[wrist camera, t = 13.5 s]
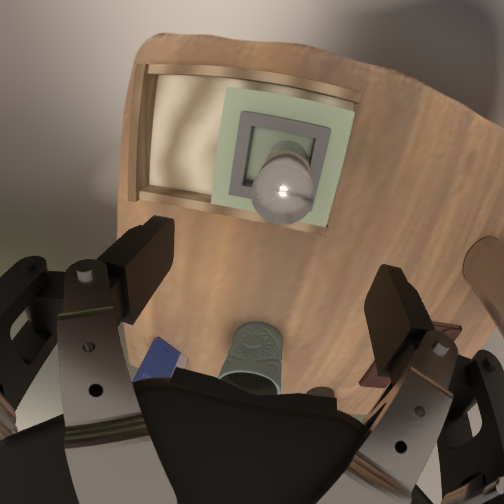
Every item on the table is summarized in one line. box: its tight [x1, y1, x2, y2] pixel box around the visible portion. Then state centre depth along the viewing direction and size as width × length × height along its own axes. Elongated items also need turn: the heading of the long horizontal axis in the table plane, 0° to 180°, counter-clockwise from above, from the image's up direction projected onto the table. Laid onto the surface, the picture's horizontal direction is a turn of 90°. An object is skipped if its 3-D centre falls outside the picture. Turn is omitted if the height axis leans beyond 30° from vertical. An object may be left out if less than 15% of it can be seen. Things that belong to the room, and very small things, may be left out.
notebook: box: [359, 322, 462, 388], centre depth 49 cm, size 15×20×2 cm
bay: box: [128, 64, 362, 236], centre depth 32 cm, size 26×18×5 cm
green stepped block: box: [211, 87, 355, 227], centre depth 30 cm, size 13×13×8 cm
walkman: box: [132, 337, 188, 382], centre depth 51 cm, size 8×3×12 cm, turn 47°
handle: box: [251, 140, 314, 225], centre depth 23 cm, size 4×4×12 cm
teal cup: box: [218, 322, 282, 395], centre depth 46 cm, size 10×10×12 cm
